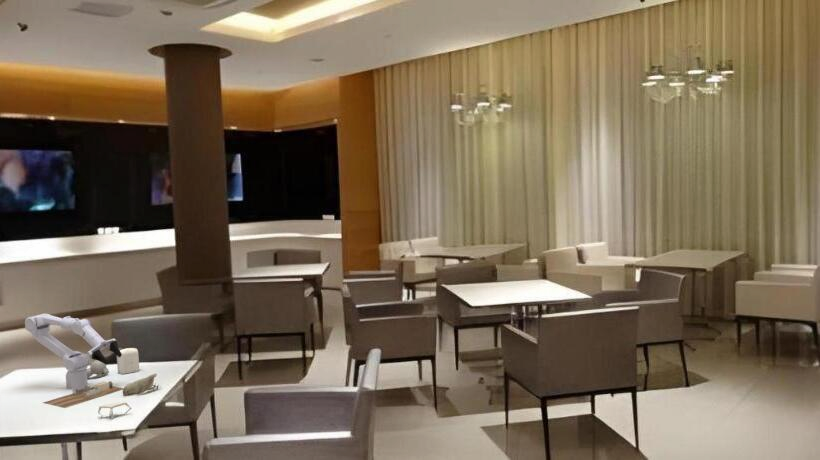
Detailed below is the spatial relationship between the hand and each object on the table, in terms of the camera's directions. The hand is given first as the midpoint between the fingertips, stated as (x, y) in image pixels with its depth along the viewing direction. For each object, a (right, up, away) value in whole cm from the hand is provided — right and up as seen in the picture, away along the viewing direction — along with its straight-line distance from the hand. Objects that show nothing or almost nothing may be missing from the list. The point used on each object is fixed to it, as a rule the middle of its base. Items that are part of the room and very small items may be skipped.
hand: (114, 359), depth 311 cm
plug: (-5, -14, -1) cm, 15 cm away
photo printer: (-6, -13, +32) cm, 35 cm away
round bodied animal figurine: (-20, -14, +25) cm, 35 cm away
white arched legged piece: (+16, -17, -35) cm, 42 cm away
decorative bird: (+14, -15, -5) cm, 21 cm away
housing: (-9, -15, -7) cm, 19 cm away
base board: (-9, -16, -8) cm, 20 cm away
